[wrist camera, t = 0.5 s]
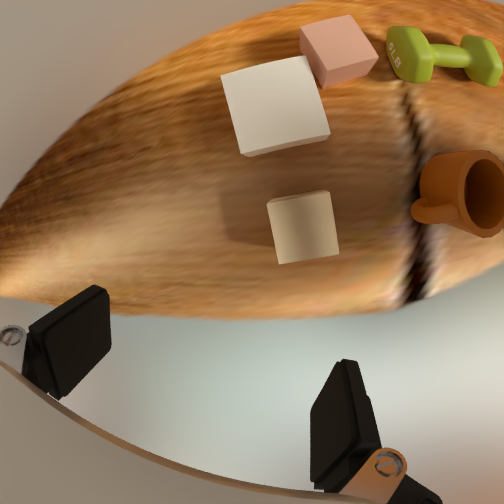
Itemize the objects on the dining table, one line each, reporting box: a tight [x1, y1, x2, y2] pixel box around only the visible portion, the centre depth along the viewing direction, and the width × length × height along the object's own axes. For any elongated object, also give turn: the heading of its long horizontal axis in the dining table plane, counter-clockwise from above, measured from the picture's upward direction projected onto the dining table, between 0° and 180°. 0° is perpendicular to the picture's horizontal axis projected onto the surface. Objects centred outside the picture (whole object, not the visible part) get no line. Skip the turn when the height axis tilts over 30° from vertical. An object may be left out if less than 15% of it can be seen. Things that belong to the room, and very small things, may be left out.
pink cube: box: [300, 15, 379, 89], centre depth 22 cm, size 6×6×6 cm
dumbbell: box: [386, 26, 503, 87], centre depth 19 cm, size 16×8×7 cm, turn 104°
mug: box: [410, 150, 504, 238], centre depth 23 cm, size 9×12×9 cm
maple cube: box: [267, 190, 339, 264], centre depth 28 cm, size 6×6×6 cm
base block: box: [221, 55, 331, 157], centre depth 26 cm, size 9×9×5 cm
